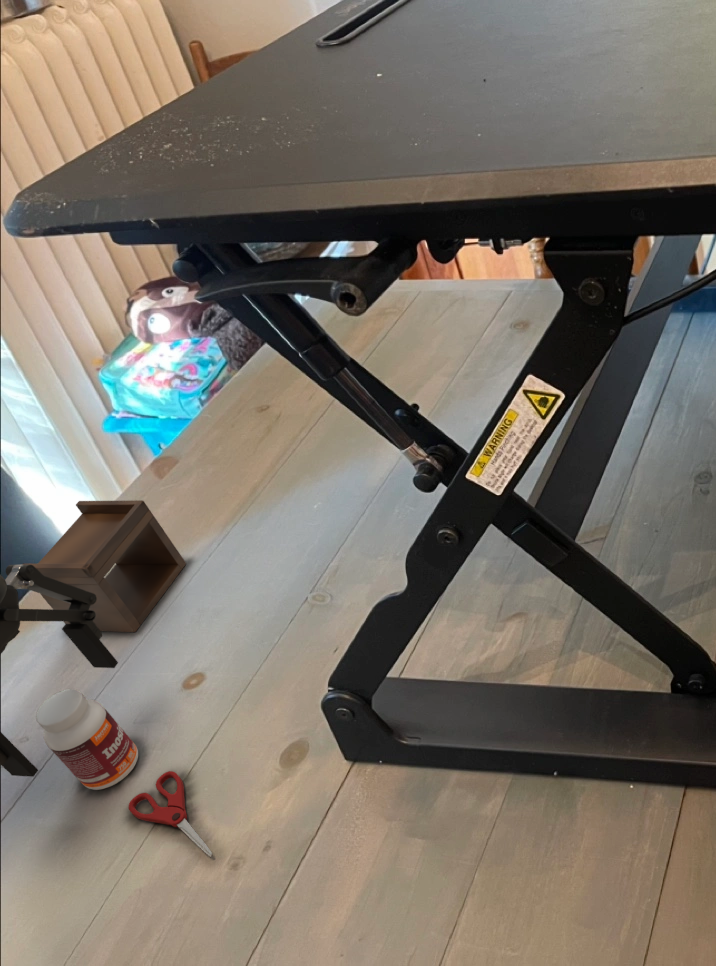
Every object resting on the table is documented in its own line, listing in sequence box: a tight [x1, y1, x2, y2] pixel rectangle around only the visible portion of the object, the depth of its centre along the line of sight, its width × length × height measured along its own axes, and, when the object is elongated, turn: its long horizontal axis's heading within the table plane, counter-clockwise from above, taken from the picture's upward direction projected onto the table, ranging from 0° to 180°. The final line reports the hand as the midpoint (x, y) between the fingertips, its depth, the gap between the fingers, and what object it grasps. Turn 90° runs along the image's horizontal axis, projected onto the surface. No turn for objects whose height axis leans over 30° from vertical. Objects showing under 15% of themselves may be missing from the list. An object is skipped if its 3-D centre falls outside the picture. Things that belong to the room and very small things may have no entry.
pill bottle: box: [35, 688, 139, 791], centre depth 115 cm, size 6×6×11 cm
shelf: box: [21, 499, 187, 633], centre depth 137 cm, size 10×12×12 cm
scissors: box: [128, 770, 213, 858], centre depth 110 cm, size 5×14×1 cm, turn 50°
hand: (67, 716), depth 113 cm, fingers open, 13 cm apart
